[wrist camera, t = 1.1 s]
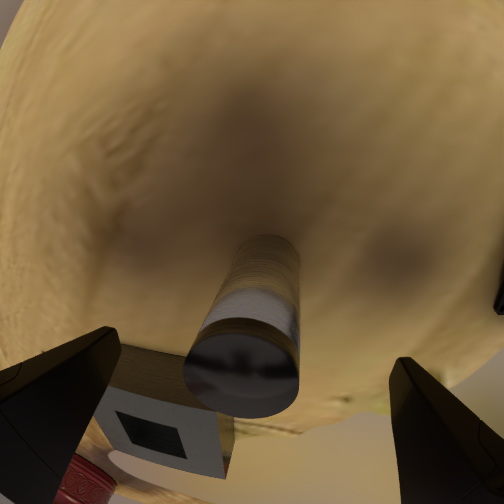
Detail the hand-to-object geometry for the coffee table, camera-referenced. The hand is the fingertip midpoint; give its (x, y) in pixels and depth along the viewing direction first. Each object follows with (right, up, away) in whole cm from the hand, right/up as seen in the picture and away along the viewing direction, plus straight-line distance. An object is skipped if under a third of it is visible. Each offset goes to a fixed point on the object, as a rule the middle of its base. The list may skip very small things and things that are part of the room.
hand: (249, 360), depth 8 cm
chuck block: (-11, -8, +12) cm, 18 cm away
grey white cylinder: (+1, +3, +6) cm, 7 cm away
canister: (-30, -35, +26) cm, 53 cm away
